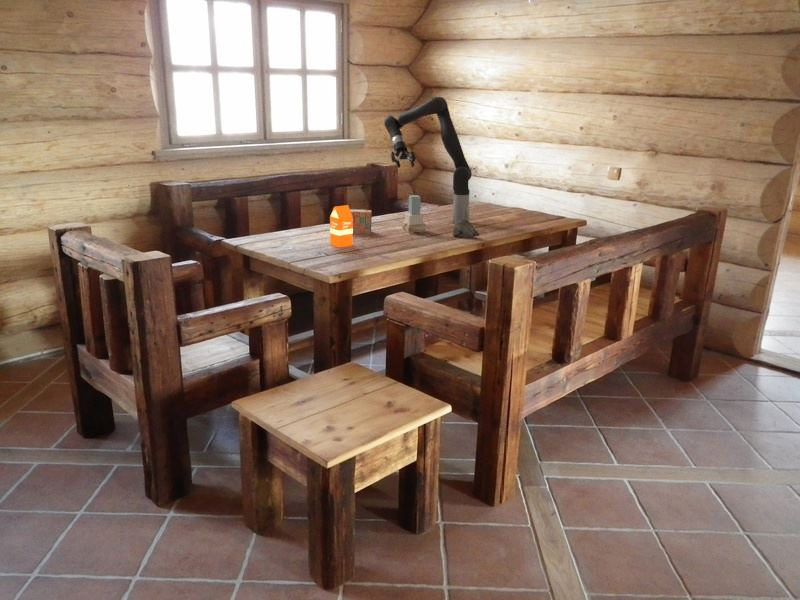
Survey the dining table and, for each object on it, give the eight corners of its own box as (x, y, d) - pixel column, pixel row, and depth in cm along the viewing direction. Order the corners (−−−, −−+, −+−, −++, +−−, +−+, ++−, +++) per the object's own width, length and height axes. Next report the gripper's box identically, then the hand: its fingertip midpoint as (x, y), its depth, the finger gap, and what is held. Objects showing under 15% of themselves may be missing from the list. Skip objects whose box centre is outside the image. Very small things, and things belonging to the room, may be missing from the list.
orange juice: (353, 244, 349) (353, 206, 343) (339, 247, 343) (338, 207, 337) (343, 242, 355) (343, 203, 348) (329, 244, 349) (329, 205, 343)
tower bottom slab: (401, 230, 387) (401, 221, 385) (417, 229, 391) (417, 220, 389) (408, 233, 378) (409, 225, 377) (425, 232, 382) (425, 223, 381)
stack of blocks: (332, 233, 375) (331, 210, 371) (333, 230, 381) (333, 208, 377) (370, 234, 375) (371, 211, 371) (371, 231, 381) (371, 209, 377)
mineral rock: (480, 238, 369) (481, 220, 366) (465, 241, 363) (466, 222, 360) (465, 234, 379) (466, 216, 376) (450, 236, 373) (450, 218, 370)
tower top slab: (404, 221, 385) (405, 212, 383) (418, 221, 387) (418, 212, 386) (409, 224, 378) (409, 215, 376) (422, 223, 380) (423, 215, 379)
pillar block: (408, 213, 382) (408, 195, 379) (416, 212, 384) (417, 195, 381) (411, 215, 378) (412, 197, 375) (420, 214, 379) (420, 196, 376)
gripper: (389, 140, 398) (396, 163, 391) (412, 140, 403) (419, 162, 396) (386, 149, 404) (393, 171, 397) (408, 148, 409) (415, 170, 403)
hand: (406, 166), depth 397 cm, fingers open, 8 cm apart
